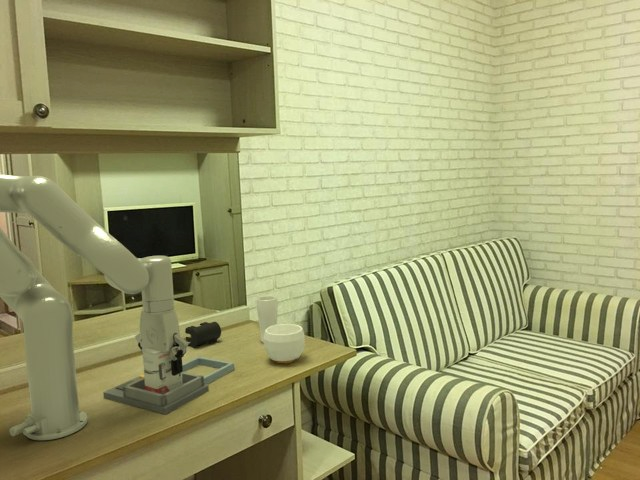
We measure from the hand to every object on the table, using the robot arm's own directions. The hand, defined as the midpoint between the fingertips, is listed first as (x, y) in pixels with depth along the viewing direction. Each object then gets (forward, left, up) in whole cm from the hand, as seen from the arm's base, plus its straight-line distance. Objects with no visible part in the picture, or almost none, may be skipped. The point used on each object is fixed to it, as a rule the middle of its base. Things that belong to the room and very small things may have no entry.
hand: (163, 370), depth 131 cm
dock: (0, +3, -7) cm, 7 cm away
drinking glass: (+48, +1, -7) cm, 49 cm away
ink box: (0, 0, -6) cm, 6 cm away
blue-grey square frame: (+16, +2, -7) cm, 17 cm away
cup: (+35, -14, -7) cm, 38 cm away
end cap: (+37, +20, -7) cm, 43 cm away
